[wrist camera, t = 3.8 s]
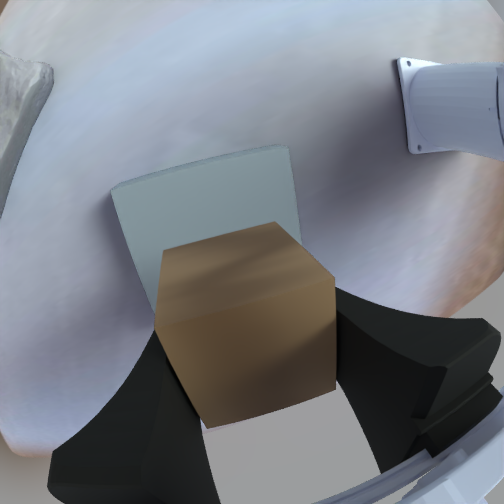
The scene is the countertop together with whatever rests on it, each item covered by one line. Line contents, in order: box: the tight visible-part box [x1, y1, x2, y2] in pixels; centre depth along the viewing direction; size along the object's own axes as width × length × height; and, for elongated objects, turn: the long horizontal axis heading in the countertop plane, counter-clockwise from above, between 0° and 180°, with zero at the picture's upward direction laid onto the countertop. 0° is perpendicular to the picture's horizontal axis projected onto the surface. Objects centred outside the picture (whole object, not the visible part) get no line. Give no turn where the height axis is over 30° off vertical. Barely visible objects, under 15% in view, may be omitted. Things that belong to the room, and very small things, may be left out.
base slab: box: [110, 145, 302, 314], centre depth 18 cm, size 10×10×3 cm
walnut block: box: [154, 221, 336, 429], centre depth 10 cm, size 4×4×5 cm
